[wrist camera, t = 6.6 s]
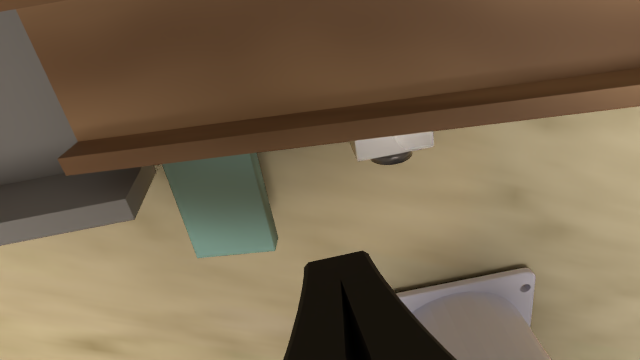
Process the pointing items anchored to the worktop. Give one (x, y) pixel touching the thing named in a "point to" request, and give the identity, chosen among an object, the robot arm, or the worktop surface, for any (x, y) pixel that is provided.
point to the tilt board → (309, 83)
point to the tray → (49, 155)
